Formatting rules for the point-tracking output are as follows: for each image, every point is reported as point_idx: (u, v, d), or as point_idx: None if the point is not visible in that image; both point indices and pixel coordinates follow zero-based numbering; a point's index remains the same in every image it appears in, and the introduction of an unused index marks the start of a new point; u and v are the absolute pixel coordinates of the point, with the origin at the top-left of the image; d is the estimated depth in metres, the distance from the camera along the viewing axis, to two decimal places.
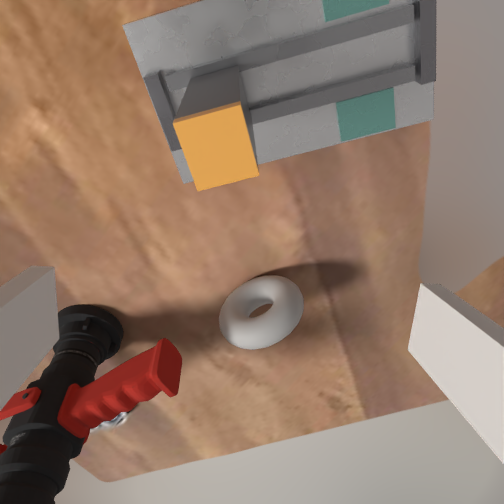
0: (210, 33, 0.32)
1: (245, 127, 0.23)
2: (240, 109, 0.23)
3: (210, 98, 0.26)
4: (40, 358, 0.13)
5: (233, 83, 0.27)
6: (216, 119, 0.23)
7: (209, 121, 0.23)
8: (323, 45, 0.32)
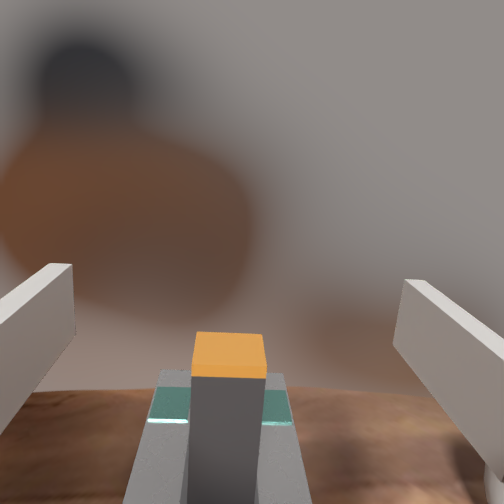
0: None
1: (216, 333, 0.27)
2: (200, 332, 0.27)
3: None
4: (59, 353, 0.13)
5: None
6: (201, 343, 0.26)
7: (201, 346, 0.26)
8: None
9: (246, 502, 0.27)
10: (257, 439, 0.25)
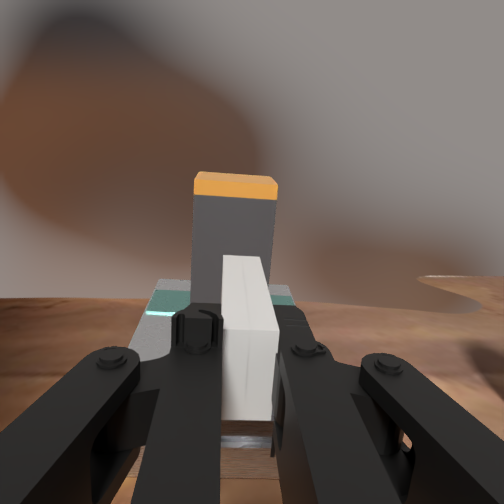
0: None
1: (220, 173, 0.25)
2: None
3: None
4: None
5: None
6: (204, 174, 0.23)
7: (204, 175, 0.23)
8: None
9: None
10: (266, 276, 0.23)
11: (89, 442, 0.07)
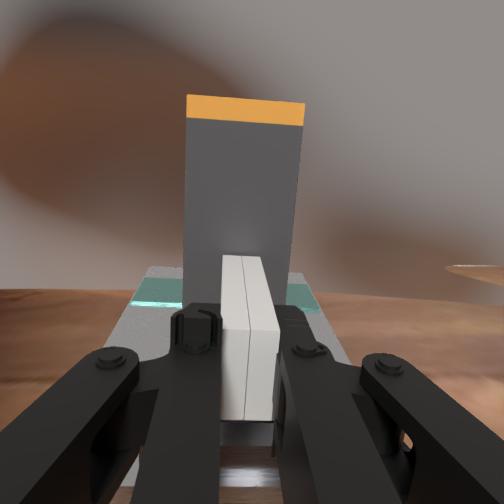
0: None
1: None
2: None
3: None
4: None
5: None
6: None
7: None
8: None
9: None
10: (288, 236, 0.17)
11: (88, 442, 0.07)
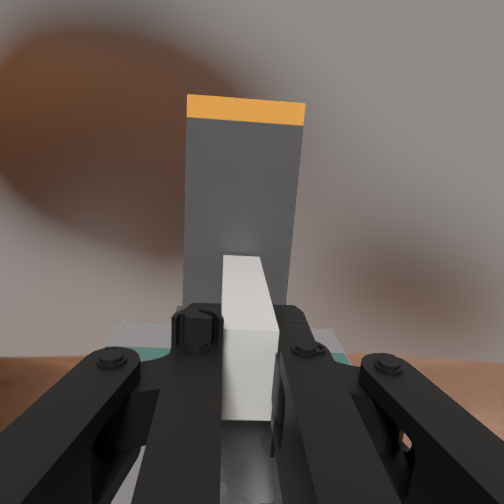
0: None
1: None
2: None
3: None
4: None
5: None
6: None
7: None
8: None
9: None
10: (288, 236, 0.17)
11: (89, 441, 0.07)
